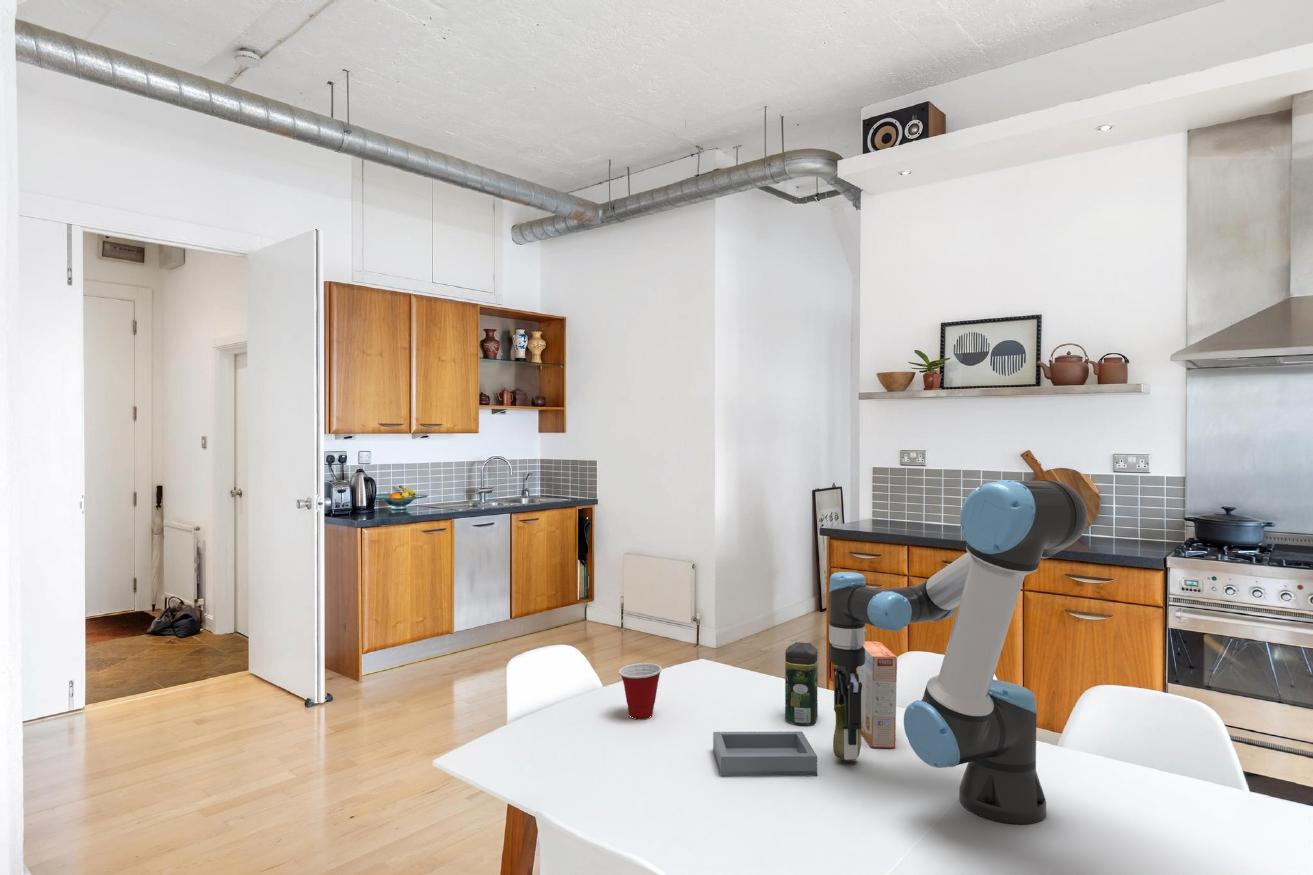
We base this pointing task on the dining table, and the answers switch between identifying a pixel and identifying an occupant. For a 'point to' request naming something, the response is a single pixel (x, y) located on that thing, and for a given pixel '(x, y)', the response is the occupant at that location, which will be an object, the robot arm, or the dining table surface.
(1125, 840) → the dining table surface
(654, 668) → the plastic cup
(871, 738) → the cracker box
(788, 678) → the coffee jar
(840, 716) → the fennel bulb
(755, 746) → the bin
